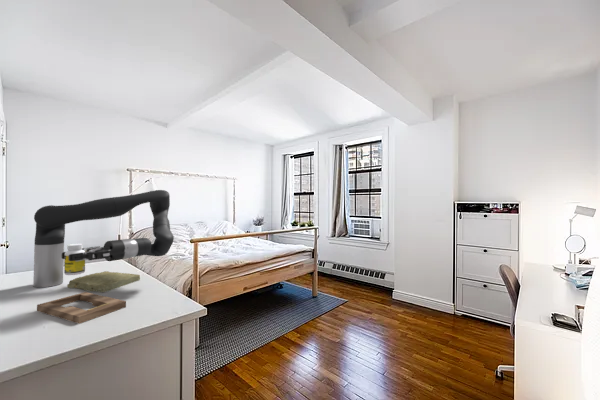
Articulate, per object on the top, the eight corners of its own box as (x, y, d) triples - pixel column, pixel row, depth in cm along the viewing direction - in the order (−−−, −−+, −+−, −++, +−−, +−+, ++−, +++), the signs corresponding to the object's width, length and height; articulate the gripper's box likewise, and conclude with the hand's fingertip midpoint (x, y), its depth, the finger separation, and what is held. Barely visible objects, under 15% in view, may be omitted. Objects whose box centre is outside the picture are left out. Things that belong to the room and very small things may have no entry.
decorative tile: (104, 277, 128) (104, 269, 128) (140, 280, 124) (141, 273, 124) (62, 289, 110) (62, 280, 110) (103, 294, 106) (103, 284, 106)
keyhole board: (36, 311, 87) (37, 304, 87) (85, 297, 100) (85, 291, 100) (79, 323, 79) (79, 316, 79) (125, 307, 92) (126, 300, 92)
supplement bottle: (60, 274, 90) (60, 245, 90) (78, 270, 95) (78, 242, 95) (70, 276, 88) (71, 246, 88) (88, 272, 93) (89, 243, 93)
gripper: (112, 238, 108) (57, 243, 93) (131, 241, 100) (74, 247, 86) (112, 257, 108) (57, 265, 93) (130, 261, 100) (74, 271, 86)
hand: (65, 256), depth 90 cm, fingers closed on supplement bottle, 5 cm apart
